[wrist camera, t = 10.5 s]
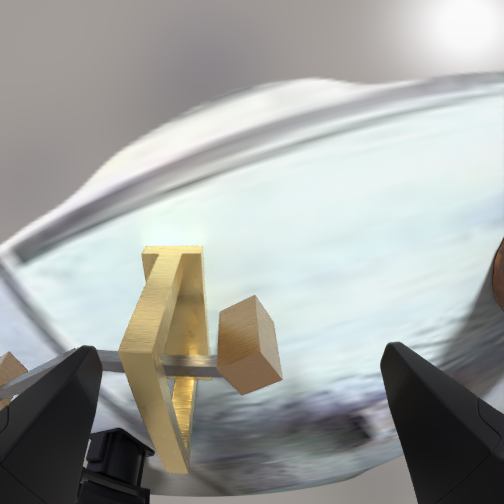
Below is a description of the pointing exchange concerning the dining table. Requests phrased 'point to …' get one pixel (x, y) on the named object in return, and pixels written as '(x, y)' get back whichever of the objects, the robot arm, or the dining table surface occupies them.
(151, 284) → the wooden frame
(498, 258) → the brown flower pot
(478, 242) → the dining table surface
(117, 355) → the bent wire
